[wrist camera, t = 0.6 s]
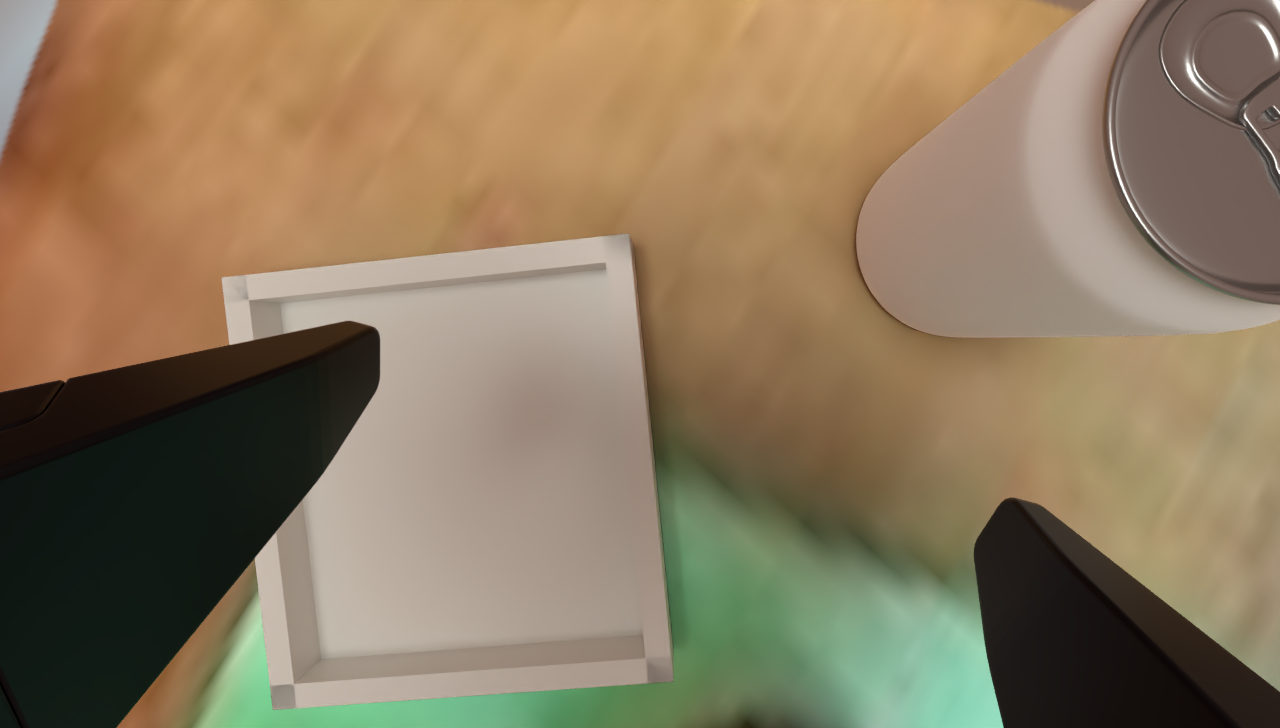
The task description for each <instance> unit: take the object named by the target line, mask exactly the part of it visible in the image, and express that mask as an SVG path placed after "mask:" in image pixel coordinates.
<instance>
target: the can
mask: <svg viewBox="0 0 1280 728" xmlns="http://www.w3.org/2000/svg"><path fill="white" fill-rule="evenodd" d="M856 249H857V257H858V262H859V266H860V269H861V272H862V275H863V278H864V280H865V282H866V284H867V286H868V288H869V290H870V291H871V293H872V294H873V296H874V297H875V298H876V300H877V301H878V302H879V303H880V304H881V306H882V307H883V308H884V309H885V310H886V311H887V312H889V313H890V314H891V315H892V316H893V317H895V318H896V319H898V320H899V321H901V322H902V323H904V324H906V325H908V326H909V327H912V328H914V329H916V330H919V331H922V332H925V333H928V334H932V335H937V336H944V337H960V338H1006V337H1097V336H1155V335H1188V334H1207V333H1220V332H1228V331H1235V330H1241V329H1247V328H1252V327H1257V326H1261V325H1265V324H1268V323H1272V322H1275V321H1278V320H1280V0H1095V1H1094V2H1092V3H1091V4H1090V5H1088V6H1087V7H1086V8H1085V9H1083V10H1082V11H1080V12H1079V13H1078V14H1076V15H1075V16H1074V17H1072V18H1071V19H1070V20H1068V21H1067V22H1066V23H1065V24H1063V25H1062V26H1061V27H1060V28H1058V29H1057V30H1056V31H1055V32H1053V33H1052V34H1051V35H1049V36H1048V37H1047V38H1046V39H1044V40H1043V41H1042V42H1041V43H1039V44H1038V45H1037V46H1036V47H1034V48H1033V49H1032V50H1031V51H1029V52H1028V53H1027V54H1026V55H1024V56H1023V57H1022V58H1021V59H1019V60H1018V61H1017V62H1016V63H1014V64H1013V65H1012V66H1011V67H1009V68H1008V69H1007V70H1006V71H1004V72H1003V73H1002V74H1001V75H999V76H998V77H997V78H996V79H995V80H993V81H992V82H991V83H990V84H988V85H987V86H986V87H985V88H983V89H982V90H981V91H980V92H978V93H977V94H976V95H975V96H974V97H972V98H971V99H970V100H969V101H967V102H966V103H965V104H964V105H962V106H961V107H960V108H959V109H957V110H956V111H955V112H954V113H953V114H951V115H950V116H949V117H948V118H946V119H945V120H944V121H943V122H942V123H940V124H939V125H938V126H937V127H935V128H934V129H933V130H932V131H931V132H929V133H928V134H927V135H926V136H924V137H923V138H922V139H921V140H920V141H918V142H917V143H916V144H915V145H914V146H912V147H911V148H910V149H909V150H908V151H906V152H905V153H904V154H903V155H902V156H900V157H899V158H898V159H897V160H896V161H895V162H894V163H893V164H892V165H891V166H890V167H889V168H888V169H887V170H886V171H885V172H884V173H883V174H882V175H881V177H880V178H879V179H878V180H877V182H876V183H875V184H874V186H873V187H872V189H871V190H870V192H869V193H868V195H867V197H866V199H865V201H864V204H863V206H862V209H861V212H860V215H859V219H858V225H857V232H856Z"/></svg>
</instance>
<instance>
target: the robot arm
mask: <svg viewBox="0 0 1280 728" xmlns="http://www.w3.org/2000/svg"><path fill="white" fill-rule="evenodd" d="M379 381H380V334H379V331H378V330H377V329H376V328H375V327H373V326H369V325H366V324H362V323H358V322H355V321H343V322H338V323H333V324H329V325H324V326H319V327H314V328H309V329H305V330H300V331H295V332H290V333H285V334H280V335H276V336H271V337H266V338H261V339H256V340H252V341H247V342H242V343H237V344H232V345H227V346H223V347H218V348H213V349H208V350H203V351H199V352H194V353H189V354H184V355H179V356H175V357H170V358H165V359H160V360H155V361H150V362H146V363H141V364H136V365H131V366H126V367H122V368H117V369H112V370H107V371H102V372H97V373H93V374H88V375H83V376H78V377H73V378H69V379H68V380H67V381H66V383H65V382H64V381H61V380H58V381H53V382H49V383H44V384H39V385H34V386H29V387H25V388H20V389H15V390H9V391H4V392H0V728H116V727H117V726H118V725H119V724H120V723H121V721H122V720H123V719H124V718H125V716H126V715H127V714H128V713H129V712H130V710H131V709H132V708H133V707H134V705H135V704H136V703H137V702H138V701H139V699H140V698H141V697H142V696H143V694H144V693H145V692H146V691H147V689H148V688H149V687H150V686H151V685H152V683H153V682H154V681H155V680H156V678H157V677H158V676H159V675H160V674H161V672H162V671H163V670H164V669H165V667H166V666H167V665H168V664H169V663H170V661H171V660H172V659H173V658H174V656H175V655H176V654H177V653H178V652H179V650H180V649H181V648H182V647H183V645H184V644H185V643H186V642H187V641H188V639H189V638H190V637H191V636H192V634H193V633H194V632H195V631H196V629H197V628H198V627H199V626H200V625H201V623H202V622H203V621H204V620H205V618H206V617H207V616H208V615H209V614H210V612H211V611H212V610H213V609H214V607H215V606H216V605H217V604H218V603H219V601H220V600H221V599H222V598H223V596H224V595H225V594H226V593H227V592H228V590H229V589H230V588H231V587H232V585H233V584H234V583H235V582H236V580H237V579H238V578H239V577H240V576H241V574H242V573H243V572H244V571H245V569H246V568H247V567H248V566H249V565H250V563H251V562H252V561H253V560H254V558H255V557H256V556H257V555H258V554H259V552H260V551H261V550H262V549H263V547H264V546H265V545H266V544H267V543H268V541H269V540H270V539H271V538H272V536H273V535H274V534H275V533H276V531H277V530H278V529H279V528H280V527H281V525H282V524H283V523H284V522H285V520H286V519H287V518H288V517H289V516H290V514H291V513H292V512H293V511H294V509H295V508H296V507H297V506H298V505H299V503H300V502H301V501H302V500H303V498H304V497H305V496H306V495H307V494H308V492H309V491H310V490H311V489H312V487H313V486H314V485H315V484H316V482H317V481H318V480H319V478H320V477H321V476H322V475H323V473H324V472H325V470H326V469H327V467H328V466H329V464H330V463H331V462H332V460H333V459H334V457H335V455H336V454H337V452H338V451H339V449H340V448H341V446H342V444H343V443H344V441H345V440H346V438H347V437H348V435H349V433H350V432H351V430H352V429H353V427H354V426H355V424H356V423H357V421H358V419H359V418H360V416H361V415H362V413H363V412H364V410H365V408H366V407H367V405H368V404H369V402H370V401H371V399H372V397H373V396H374V394H375V392H376V390H377V388H378V385H379ZM974 562H975V570H976V578H977V586H978V594H979V602H980V609H981V617H982V625H983V633H984V641H985V647H986V653H987V659H988V663H989V668H990V673H991V677H992V681H993V685H994V689H995V694H996V698H997V702H998V706H999V710H1000V714H1001V718H1002V722H1003V726H1004V728H1280V692H1279V691H1278V690H1277V689H1275V688H1274V687H1273V686H1272V685H1270V684H1269V683H1268V682H1266V681H1265V680H1264V679H1263V678H1261V677H1260V676H1259V675H1257V674H1256V673H1255V672H1254V671H1252V670H1251V669H1250V668H1248V667H1247V666H1246V665H1245V664H1243V663H1242V662H1241V661H1240V660H1238V659H1237V658H1236V657H1234V656H1233V655H1232V654H1231V653H1229V652H1228V651H1227V650H1225V649H1224V648H1223V647H1222V646H1220V645H1219V644H1218V643H1217V642H1215V641H1214V640H1213V639H1211V638H1210V637H1209V636H1208V635H1206V634H1205V633H1204V632H1202V631H1201V630H1200V629H1199V628H1197V627H1196V626H1195V625H1193V624H1192V623H1191V622H1190V621H1188V620H1187V619H1186V618H1185V617H1183V616H1182V615H1181V614H1179V613H1178V612H1177V611H1176V610H1174V609H1173V608H1172V607H1170V606H1169V605H1168V604H1167V603H1165V602H1164V601H1163V600H1162V599H1160V598H1159V597H1158V596H1156V595H1155V594H1154V593H1153V592H1151V591H1150V590H1149V589H1147V588H1146V587H1145V586H1144V585H1142V584H1141V583H1140V582H1138V581H1137V580H1136V579H1135V578H1133V577H1132V576H1131V575H1130V574H1128V573H1127V572H1126V571H1124V570H1123V569H1122V568H1121V567H1119V566H1118V565H1117V564H1115V563H1114V562H1113V561H1112V560H1110V559H1109V558H1108V557H1106V556H1105V555H1104V554H1103V553H1101V552H1100V551H1099V550H1098V549H1096V548H1095V547H1094V546H1092V545H1091V544H1090V543H1089V542H1087V541H1086V540H1085V539H1083V538H1082V537H1081V536H1080V535H1078V534H1077V533H1076V532H1075V531H1073V530H1072V529H1071V528H1069V527H1068V526H1067V525H1066V524H1064V523H1063V522H1062V521H1060V520H1059V519H1058V518H1057V517H1055V516H1054V515H1053V514H1051V513H1050V512H1049V511H1048V510H1046V509H1045V508H1044V507H1042V506H1041V505H1038V504H1036V503H1032V502H1028V501H1025V500H1021V499H1017V498H1007V499H1005V500H1004V501H1002V502H1001V503H1000V505H999V506H998V507H997V509H996V511H995V512H994V514H993V515H992V517H991V518H990V520H989V521H988V523H987V524H986V526H985V527H984V529H983V530H982V532H981V533H980V535H979V536H978V538H977V540H976V543H975V547H974Z"/></svg>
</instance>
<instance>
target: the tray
mask: <svg viewBox="0 0 1280 728" xmlns="http://www.w3.org/2000/svg"><path fill="white" fill-rule="evenodd" d="M222 285H223V294H224V302H225V310H226V319H227V327H228V336H229V344H230V345H232V344H237V343H242V342H247V341H252V340H256V339H261V338H266V337H271V336H276V335H280V334H285V333H290V332H295V331H300V330H305V329H309V328H314V327H319V326H324V325H329V324H333V323H338V322H343V321H355V322H358V323H362V324H366V325H369V326H373V327H375V328H376V329H377V330H378V331H379V334H380V381H379V385H378V388H377V390H376V392H375V394H374V396H373V397H372V399H371V401H370V402H369V404H368V405H367V407H366V408H365V410H364V412H363V413H362V415H361V416H360V418H359V419H358V421H357V423H356V424H355V426H354V427H353V429H352V430H351V432H350V433H349V435H348V437H347V438H346V440H345V441H344V443H343V444H342V446H341V448H340V449H339V451H338V452H337V454H336V455H335V457H334V459H333V460H332V462H331V463H330V464H329V466H328V467H327V469H326V470H325V472H324V473H323V475H322V476H321V477H320V478H319V480H318V481H317V482H316V484H315V485H314V486H313V487H312V489H311V490H310V491H309V492H308V494H307V495H306V496H305V497H304V498H303V500H302V501H301V502H300V503H299V505H298V506H297V507H296V508H295V509H294V511H293V512H292V513H291V514H290V516H289V517H288V518H287V519H286V520H285V522H284V523H283V524H282V525H281V527H280V528H279V529H278V530H277V531H276V533H275V534H274V535H273V536H272V538H271V539H270V540H269V541H268V543H267V544H266V545H265V546H264V547H263V549H262V550H261V551H260V552H259V554H258V555H257V556H256V557H255V563H256V572H257V580H258V589H259V597H260V605H261V614H262V622H263V631H264V639H265V648H266V656H267V664H268V673H269V681H270V690H271V698H272V707H273V710H279V709H293V708H307V707H321V706H335V705H349V704H363V703H377V702H391V701H406V700H420V699H434V698H448V697H462V696H476V695H490V694H504V693H518V692H532V691H547V690H561V689H575V688H589V687H603V686H617V685H631V684H645V683H659V682H673V640H672V630H671V620H670V610H669V600H668V590H667V580H666V569H665V559H664V549H663V539H662V529H661V519H660V509H659V499H658V489H657V478H656V468H655V458H654V448H653V438H652V428H651V418H650V408H649V398H648V387H647V377H646V367H645V357H644V347H643V337H642V327H641V317H640V306H639V296H638V286H637V276H636V266H635V256H634V246H633V242H632V240H631V237H630V235H629V234H620V235H611V236H601V237H592V238H583V239H574V240H564V241H555V242H546V243H537V244H528V245H518V246H509V247H500V248H491V249H481V250H472V251H463V252H454V253H445V254H435V255H426V256H417V257H408V258H398V259H389V260H380V261H371V262H362V263H352V264H343V265H334V266H325V267H315V268H306V269H297V270H288V271H279V272H269V273H260V274H251V275H242V276H232V277H223V278H222Z"/></svg>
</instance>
